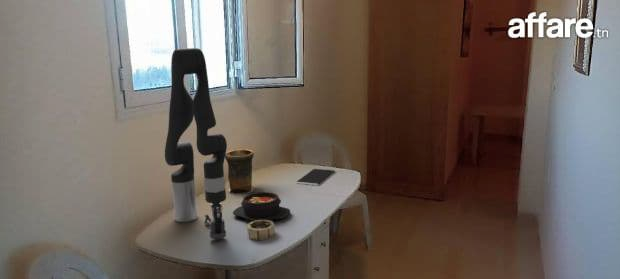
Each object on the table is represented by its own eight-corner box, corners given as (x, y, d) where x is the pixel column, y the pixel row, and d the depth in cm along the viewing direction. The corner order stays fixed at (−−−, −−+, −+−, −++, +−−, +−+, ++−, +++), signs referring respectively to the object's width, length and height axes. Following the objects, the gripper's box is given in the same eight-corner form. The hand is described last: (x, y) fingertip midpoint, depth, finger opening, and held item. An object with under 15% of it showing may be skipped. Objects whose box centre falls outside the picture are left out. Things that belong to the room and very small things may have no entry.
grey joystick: (209, 233, 166) (208, 218, 165) (225, 231, 168) (224, 216, 167) (210, 239, 161) (209, 224, 160) (226, 237, 163) (226, 222, 161)
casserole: (296, 210, 193) (295, 192, 191) (282, 226, 175) (281, 207, 173) (243, 206, 199) (242, 188, 198) (225, 222, 182) (224, 203, 180)
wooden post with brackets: (205, 221, 181) (207, 212, 179) (216, 232, 177) (219, 224, 175) (202, 222, 180) (203, 214, 178) (213, 234, 176) (215, 225, 174)
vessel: (258, 185, 229) (256, 148, 224) (252, 195, 215) (249, 156, 210) (231, 185, 230) (228, 148, 225) (224, 195, 216) (220, 156, 212)
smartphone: (294, 185, 230) (294, 182, 230) (313, 171, 254) (313, 168, 254) (318, 187, 225) (318, 184, 225) (335, 172, 249) (335, 170, 249)
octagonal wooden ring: (246, 231, 171) (245, 221, 171) (271, 227, 174) (270, 218, 174) (250, 241, 162) (249, 231, 161) (276, 237, 165) (276, 227, 164)
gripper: (203, 183, 166) (206, 226, 169) (206, 195, 153) (209, 240, 157) (223, 181, 168) (226, 223, 172) (227, 192, 155) (230, 237, 159)
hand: (218, 231), depth 164 cm, fingers closed on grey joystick
